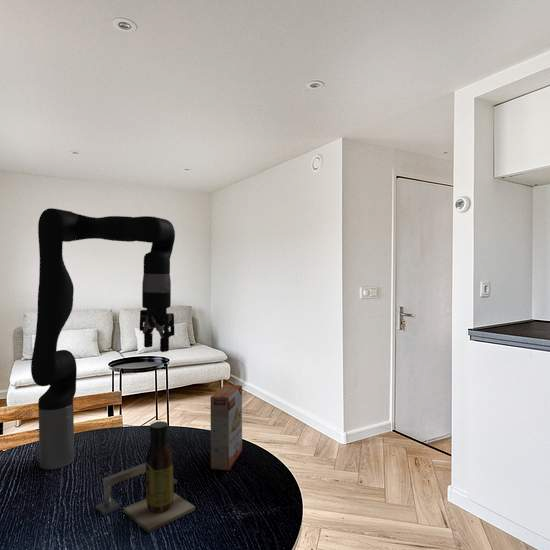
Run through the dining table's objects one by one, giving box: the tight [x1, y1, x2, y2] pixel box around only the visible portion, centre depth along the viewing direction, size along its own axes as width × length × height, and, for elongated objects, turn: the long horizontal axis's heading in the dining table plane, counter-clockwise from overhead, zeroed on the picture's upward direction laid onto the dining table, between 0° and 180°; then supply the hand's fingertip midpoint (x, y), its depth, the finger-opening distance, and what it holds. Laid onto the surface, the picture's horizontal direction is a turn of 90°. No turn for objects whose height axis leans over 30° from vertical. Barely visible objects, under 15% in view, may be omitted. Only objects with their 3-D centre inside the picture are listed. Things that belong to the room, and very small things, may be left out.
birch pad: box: [122, 492, 196, 534], centre depth 98 cm, size 12×12×1 cm
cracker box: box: [210, 384, 243, 471], centre depth 125 cm, size 14×6×21 cm, turn 168°
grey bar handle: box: [95, 462, 178, 516], centre depth 105 cm, size 4×20×7 cm, turn 136°
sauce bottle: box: [145, 421, 175, 512], centre depth 99 cm, size 7×6×20 cm
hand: (156, 349), depth 115 cm, fingers open, 8 cm apart
